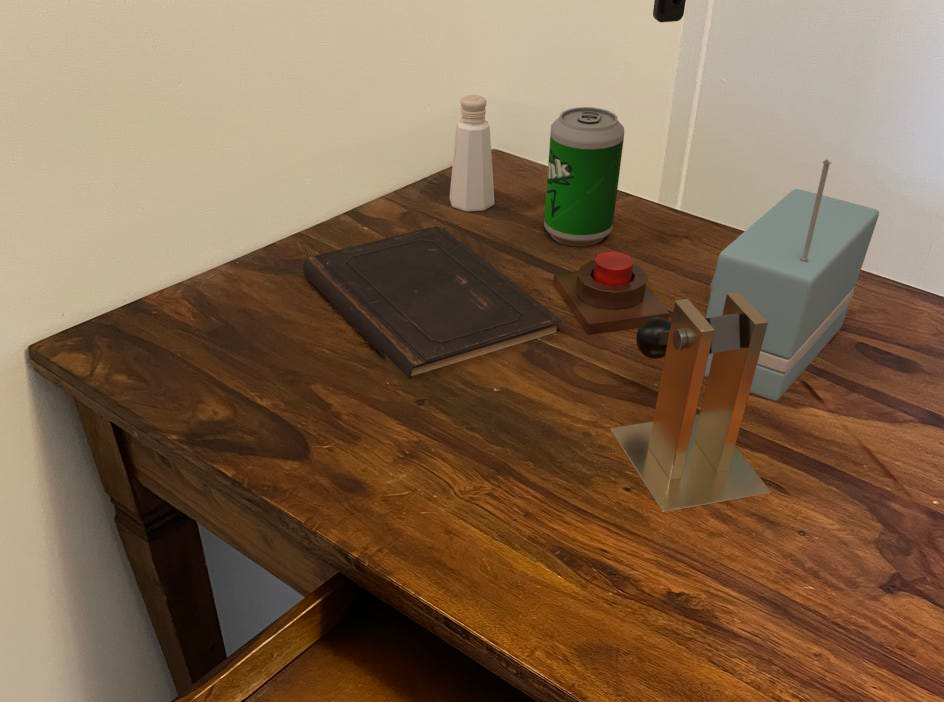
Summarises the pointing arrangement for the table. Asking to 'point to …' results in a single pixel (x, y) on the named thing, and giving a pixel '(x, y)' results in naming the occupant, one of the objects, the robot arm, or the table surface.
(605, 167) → the soda can
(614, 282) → the stop button
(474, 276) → the hardcover book
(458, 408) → the table surface
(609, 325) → the brown button base
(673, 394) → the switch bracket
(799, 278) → the radio
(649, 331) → the switch lever
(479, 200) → the pepper shaker
